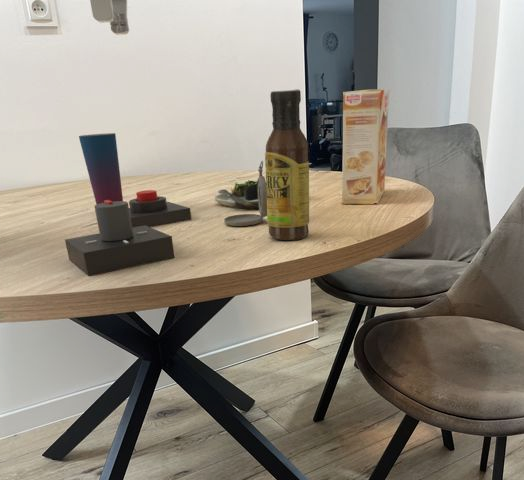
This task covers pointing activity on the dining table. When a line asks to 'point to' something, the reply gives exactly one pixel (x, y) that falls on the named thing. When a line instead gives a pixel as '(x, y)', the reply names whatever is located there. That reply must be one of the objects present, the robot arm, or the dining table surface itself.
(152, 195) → the power button
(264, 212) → the pocket watch
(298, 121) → the sauce bottle
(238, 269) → the dining table surface
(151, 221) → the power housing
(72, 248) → the panel
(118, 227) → the timer knob
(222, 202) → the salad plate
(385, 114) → the coffeecake box
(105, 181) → the cup
